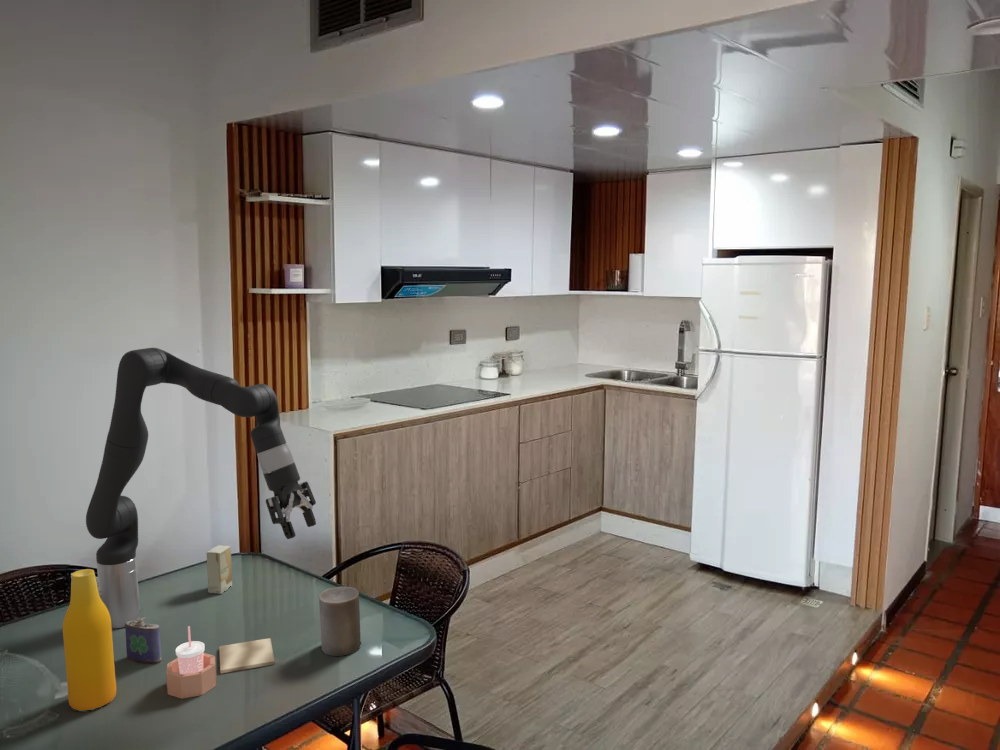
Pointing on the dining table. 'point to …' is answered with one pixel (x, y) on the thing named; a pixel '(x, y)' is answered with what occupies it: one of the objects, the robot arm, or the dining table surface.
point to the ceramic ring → (191, 679)
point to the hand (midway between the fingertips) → (302, 531)
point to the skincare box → (219, 569)
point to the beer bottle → (88, 645)
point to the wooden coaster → (246, 655)
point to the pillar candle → (340, 621)
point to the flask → (143, 642)
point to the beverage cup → (190, 656)
